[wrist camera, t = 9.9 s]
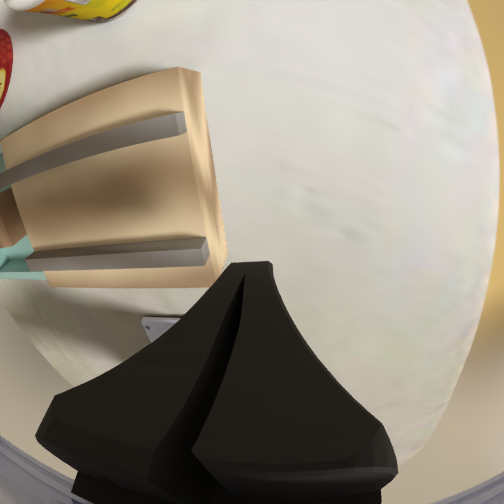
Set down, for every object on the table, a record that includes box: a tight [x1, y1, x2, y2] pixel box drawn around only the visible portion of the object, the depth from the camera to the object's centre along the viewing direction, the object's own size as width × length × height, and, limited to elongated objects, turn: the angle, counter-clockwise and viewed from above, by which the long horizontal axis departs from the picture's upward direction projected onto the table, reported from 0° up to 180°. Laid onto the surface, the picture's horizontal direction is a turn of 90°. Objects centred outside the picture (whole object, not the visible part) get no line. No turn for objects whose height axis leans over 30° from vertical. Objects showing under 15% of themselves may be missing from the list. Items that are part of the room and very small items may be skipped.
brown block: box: [0, 187, 27, 249], centre depth 17 cm, size 4×4×3 cm
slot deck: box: [0, 67, 228, 288], centre depth 16 cm, size 12×14×5 cm
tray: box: [0, 143, 47, 280], centre depth 18 cm, size 12×11×3 cm
